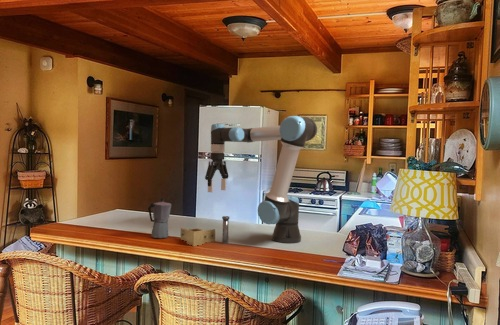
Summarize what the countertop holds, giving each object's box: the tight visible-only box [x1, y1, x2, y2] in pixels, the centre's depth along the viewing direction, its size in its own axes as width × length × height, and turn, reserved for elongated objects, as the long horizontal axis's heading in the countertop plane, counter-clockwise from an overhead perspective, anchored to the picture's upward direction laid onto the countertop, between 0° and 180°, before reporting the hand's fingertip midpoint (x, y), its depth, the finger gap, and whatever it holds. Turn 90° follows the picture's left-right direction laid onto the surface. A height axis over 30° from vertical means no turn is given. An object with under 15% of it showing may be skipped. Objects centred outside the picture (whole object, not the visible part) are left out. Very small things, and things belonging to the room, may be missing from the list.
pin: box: [221, 215, 230, 244], centre depth 200 cm, size 4×4×13 cm
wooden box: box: [180, 227, 216, 247], centre depth 201 cm, size 15×15×7 cm
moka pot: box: [147, 198, 172, 239], centre depth 208 cm, size 10×15×20 cm, turn 149°
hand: (217, 191), depth 221 cm, fingers open, 13 cm apart
